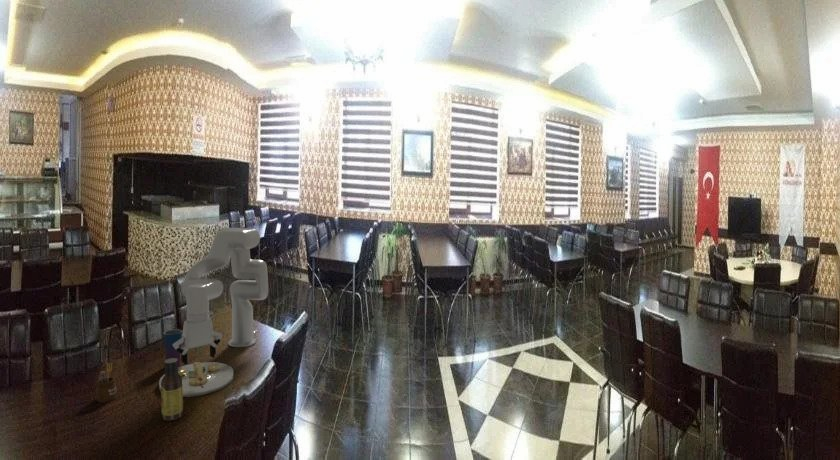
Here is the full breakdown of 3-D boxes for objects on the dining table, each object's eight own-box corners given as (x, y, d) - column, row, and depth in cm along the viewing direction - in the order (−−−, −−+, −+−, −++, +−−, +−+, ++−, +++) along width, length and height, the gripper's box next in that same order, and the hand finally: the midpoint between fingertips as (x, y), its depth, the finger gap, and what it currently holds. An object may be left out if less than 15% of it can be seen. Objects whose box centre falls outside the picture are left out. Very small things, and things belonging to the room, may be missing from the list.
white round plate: (195, 364, 186) (195, 354, 185) (247, 373, 179) (247, 363, 178) (142, 390, 161) (142, 379, 160) (199, 402, 154) (199, 390, 153)
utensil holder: (93, 403, 150) (92, 370, 149) (101, 395, 156) (100, 363, 155) (112, 402, 151) (111, 369, 150) (119, 393, 157) (119, 362, 156)
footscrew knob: (186, 381, 164) (186, 363, 163) (204, 377, 168) (204, 359, 167) (192, 388, 158) (191, 370, 158) (210, 383, 162) (210, 366, 162)
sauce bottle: (167, 412, 146) (166, 355, 144) (186, 411, 147) (185, 355, 145) (157, 422, 140) (156, 363, 138) (177, 422, 141) (177, 363, 139)
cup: (160, 366, 181) (159, 332, 180) (175, 361, 187) (175, 328, 186) (170, 370, 178) (169, 335, 177) (185, 365, 184) (185, 331, 183)
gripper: (218, 309, 170) (218, 351, 172) (169, 318, 158) (170, 362, 160) (225, 314, 165) (226, 357, 167) (175, 324, 152) (176, 369, 155)
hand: (198, 359), depth 163 cm, fingers open, 9 cm apart
